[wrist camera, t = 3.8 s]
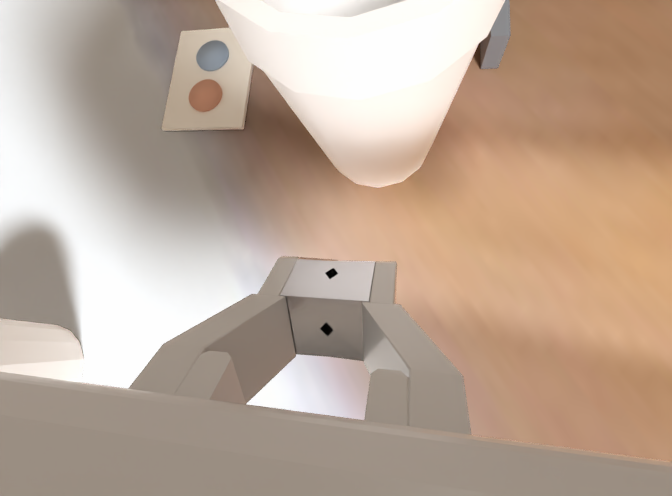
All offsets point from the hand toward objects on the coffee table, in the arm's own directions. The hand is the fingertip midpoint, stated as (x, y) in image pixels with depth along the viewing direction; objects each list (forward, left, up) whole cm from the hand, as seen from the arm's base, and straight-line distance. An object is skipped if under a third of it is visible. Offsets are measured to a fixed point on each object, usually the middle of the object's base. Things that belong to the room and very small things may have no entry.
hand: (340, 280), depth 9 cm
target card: (-18, +8, -11) cm, 22 cm away
